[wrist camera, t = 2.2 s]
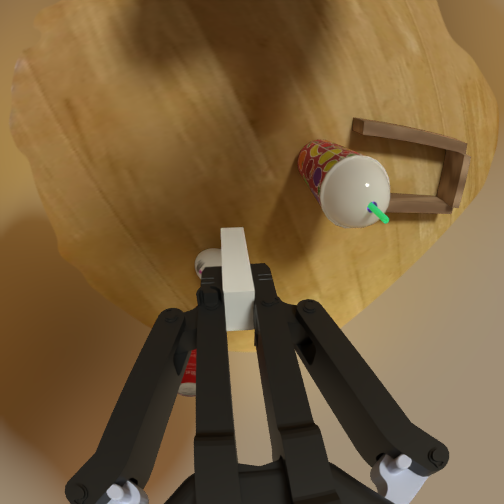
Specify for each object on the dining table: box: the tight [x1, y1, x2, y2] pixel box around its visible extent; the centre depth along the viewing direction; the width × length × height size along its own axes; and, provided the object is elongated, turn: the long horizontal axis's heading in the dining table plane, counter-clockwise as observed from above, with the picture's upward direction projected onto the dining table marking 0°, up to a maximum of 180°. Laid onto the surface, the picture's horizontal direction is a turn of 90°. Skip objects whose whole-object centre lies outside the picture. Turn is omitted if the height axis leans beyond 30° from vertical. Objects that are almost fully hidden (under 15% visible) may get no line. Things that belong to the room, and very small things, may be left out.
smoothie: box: [298, 140, 391, 228], centre depth 31 cm, size 8×8×20 cm
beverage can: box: [178, 349, 196, 397], centre depth 49 cm, size 6×6×15 cm
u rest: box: [352, 118, 471, 214], centre depth 39 cm, size 14×22×5 cm, turn 90°
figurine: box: [195, 248, 222, 279], centre depth 44 cm, size 8×6×7 cm
